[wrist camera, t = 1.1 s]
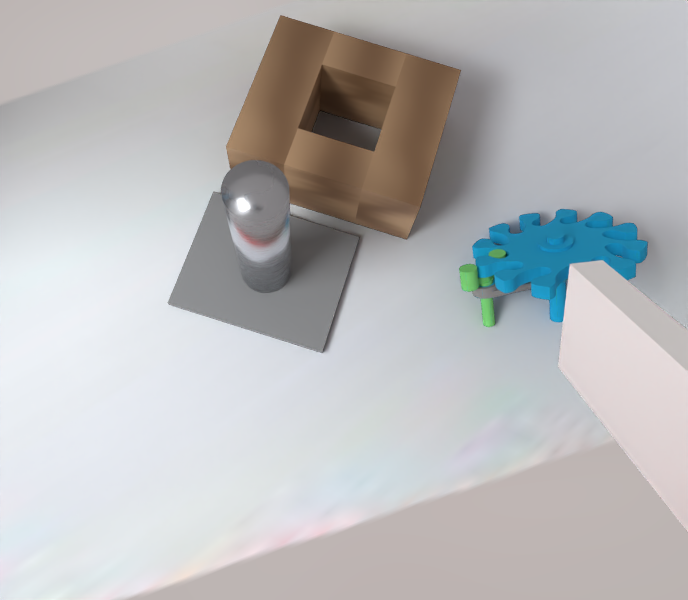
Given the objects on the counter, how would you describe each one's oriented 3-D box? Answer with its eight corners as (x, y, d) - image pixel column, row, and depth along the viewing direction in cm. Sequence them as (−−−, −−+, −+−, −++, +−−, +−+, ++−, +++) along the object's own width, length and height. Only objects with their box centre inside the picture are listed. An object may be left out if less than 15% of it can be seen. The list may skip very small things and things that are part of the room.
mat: (169, 304, 40) (167, 302, 40) (214, 194, 43) (213, 191, 42) (322, 352, 40) (322, 351, 40) (358, 239, 43) (359, 236, 42)
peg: (233, 284, 41) (211, 209, 30) (250, 239, 42) (234, 151, 31) (282, 299, 41) (276, 230, 30) (298, 254, 42) (298, 171, 31)
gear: (600, 188, 43) (683, 251, 34) (600, 266, 46) (677, 342, 37) (437, 225, 43) (479, 296, 34) (447, 301, 46) (489, 384, 37)
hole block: (233, 185, 43) (226, 146, 38) (282, 65, 46) (280, 15, 41) (406, 239, 43) (420, 206, 38) (443, 114, 46) (461, 70, 41)
